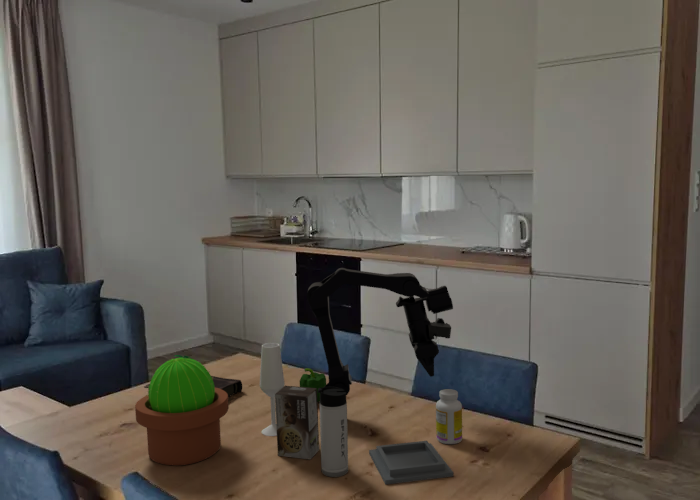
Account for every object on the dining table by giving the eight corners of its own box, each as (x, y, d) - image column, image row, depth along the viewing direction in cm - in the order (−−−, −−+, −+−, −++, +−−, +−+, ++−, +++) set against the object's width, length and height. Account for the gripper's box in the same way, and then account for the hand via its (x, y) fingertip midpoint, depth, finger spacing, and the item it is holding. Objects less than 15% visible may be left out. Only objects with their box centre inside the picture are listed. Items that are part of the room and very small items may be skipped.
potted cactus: (186, 478, 143) (180, 373, 140) (120, 459, 154) (113, 361, 151) (246, 442, 162) (242, 349, 159) (184, 427, 173) (179, 340, 170)
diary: (182, 383, 213) (182, 369, 212) (242, 393, 202) (242, 378, 201) (142, 401, 196) (141, 385, 196) (205, 412, 185) (205, 396, 185)
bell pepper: (332, 398, 194) (331, 366, 192) (317, 406, 187) (316, 374, 186) (310, 393, 198) (309, 363, 197) (295, 401, 191) (294, 370, 190)
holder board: (385, 484, 138) (385, 473, 138) (369, 453, 154) (368, 444, 154) (453, 476, 141) (453, 465, 141) (430, 447, 157) (430, 437, 157)
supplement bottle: (461, 434, 164) (461, 387, 163) (463, 445, 158) (463, 396, 156) (435, 434, 165) (435, 387, 163) (436, 445, 158) (436, 396, 157)
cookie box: (320, 449, 157) (318, 387, 155) (310, 460, 151) (308, 396, 149) (287, 445, 160) (285, 384, 158) (276, 455, 154) (274, 392, 152)
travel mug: (319, 465, 148) (317, 384, 146) (347, 464, 149) (345, 383, 146) (320, 478, 142) (318, 393, 140) (349, 476, 142) (347, 392, 140)
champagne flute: (290, 428, 171) (287, 343, 168) (278, 437, 165) (274, 349, 162) (270, 424, 174) (266, 340, 171) (256, 433, 168) (253, 347, 165)
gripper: (450, 318, 163) (464, 374, 164) (440, 304, 181) (452, 354, 183) (409, 328, 163) (423, 384, 165) (403, 313, 182) (415, 363, 183)
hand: (430, 371), depth 174 cm, fingers open, 9 cm apart
